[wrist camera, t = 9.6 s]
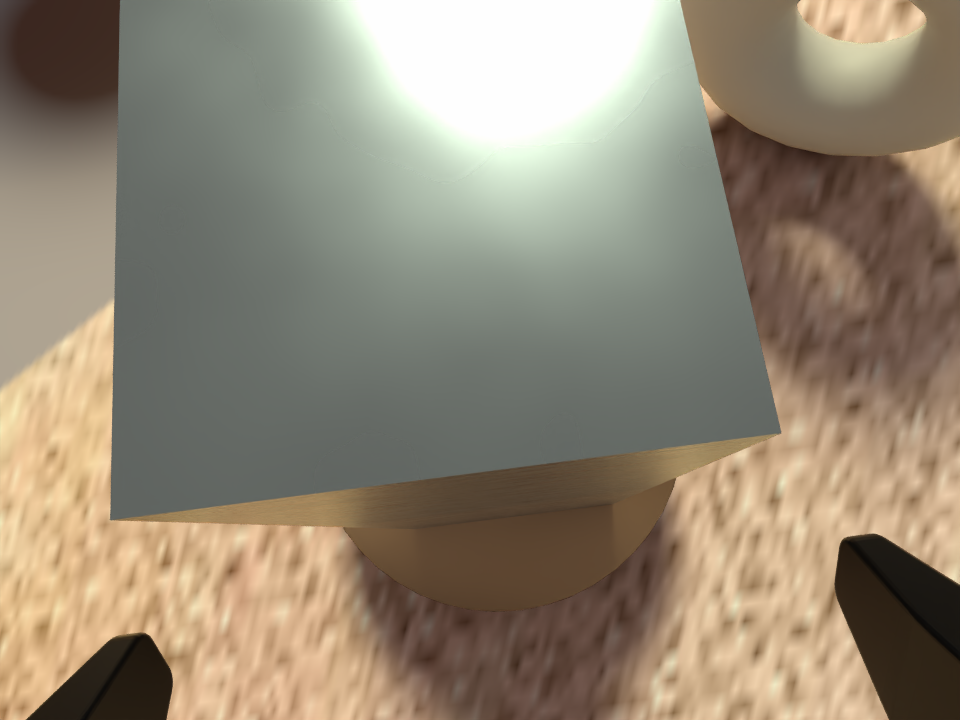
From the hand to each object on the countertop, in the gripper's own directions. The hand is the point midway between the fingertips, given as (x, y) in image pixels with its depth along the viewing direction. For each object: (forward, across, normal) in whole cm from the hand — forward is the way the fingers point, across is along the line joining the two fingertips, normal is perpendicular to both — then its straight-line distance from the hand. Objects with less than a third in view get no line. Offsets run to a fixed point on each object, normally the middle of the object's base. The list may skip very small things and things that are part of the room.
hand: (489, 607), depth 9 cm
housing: (+9, 0, +3) cm, 10 cm away
